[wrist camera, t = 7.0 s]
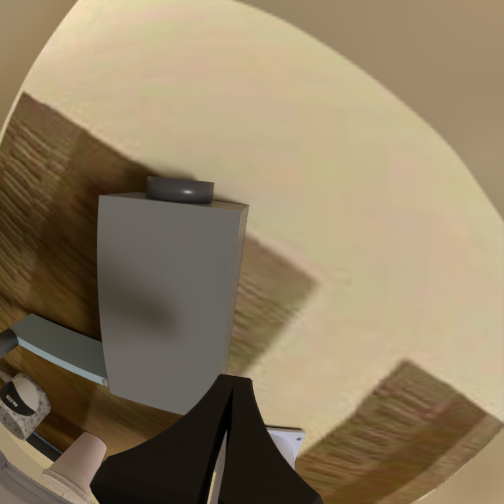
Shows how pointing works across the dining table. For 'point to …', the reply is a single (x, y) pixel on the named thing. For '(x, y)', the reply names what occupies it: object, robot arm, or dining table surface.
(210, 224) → the camera housing
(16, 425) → the mug
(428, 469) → the dining table surface
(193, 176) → the dining table surface
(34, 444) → the smartphone
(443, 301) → the dining table surface
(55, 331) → the side door
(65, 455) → the smoothie
